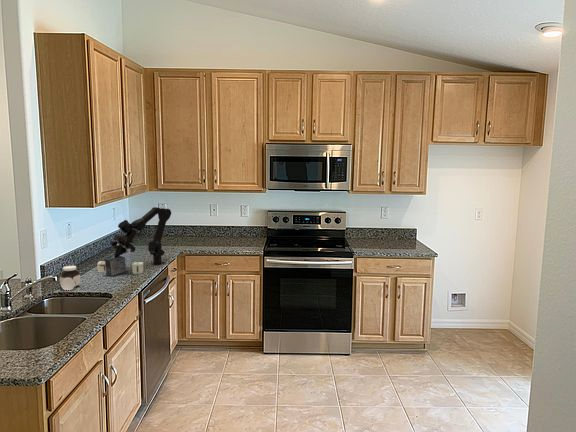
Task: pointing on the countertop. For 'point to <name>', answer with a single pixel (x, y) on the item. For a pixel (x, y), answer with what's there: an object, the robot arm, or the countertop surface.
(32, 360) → the countertop surface
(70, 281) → the spread jar
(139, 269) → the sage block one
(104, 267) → the cream block seven
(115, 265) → the small box
